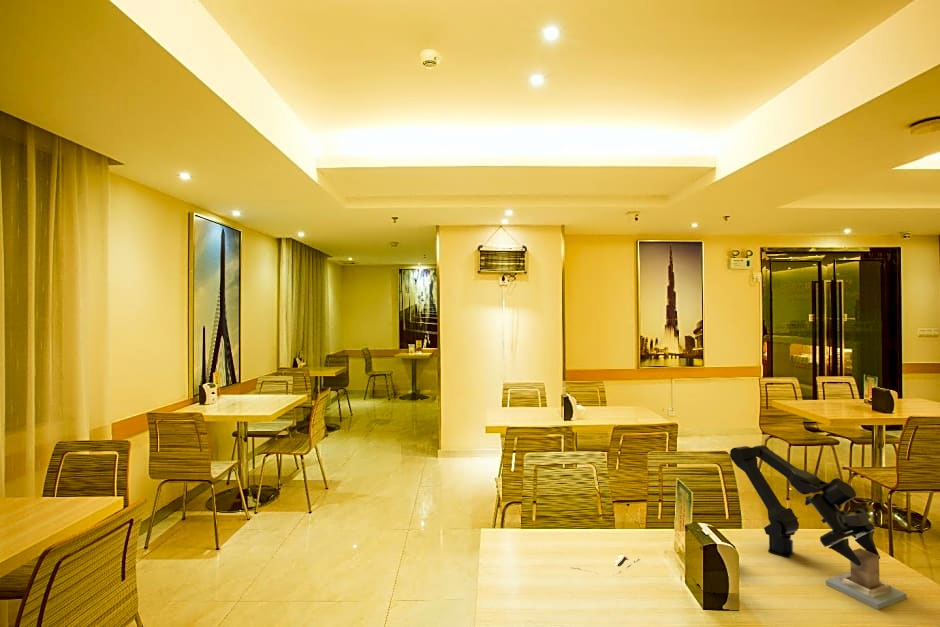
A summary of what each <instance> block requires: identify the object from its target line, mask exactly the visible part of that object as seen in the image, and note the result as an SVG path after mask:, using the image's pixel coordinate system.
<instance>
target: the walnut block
mask: <svg viewBox="0 0 940 627" xmlns="http://www.w3.org/2000/svg"><path fill="white" fill-rule="evenodd" d="M852 551H853V552H854V553H855V555H856V556H857V558H858V559H859V561H860V563H861V565H860V566H858V565H856V564H855V563H853V562H852V561H850V560H849V561H850V562H849V564H850V572H851V581H852V582H854V583H857V584H859V585H861V586H863V587H865V588H867V589H870V590H873V589H875V588H878V587H880V581H881V580H880V559H879V556H880V554H879V555H876V554H874V553H871V552H869V551H866V550H865V549H864V548H857V549H852Z"/></svg>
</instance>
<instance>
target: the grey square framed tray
mask: <svg viewBox="0 0 940 627" xmlns="http://www.w3.org/2000/svg"><path fill="white" fill-rule="evenodd" d="M825 585H826V586H828V587H830V588H832V589H834V590H836V591H838V592H840V593H842V594H844V595H847V596H848V597H850V598H852V597H853V599H854V600H857V601H859V602H861V603H863V604H865V605H867V606H870V607H871V608H873V609H874V610H875V609H876V610H881V609H883V608H885V607H889V606H891V605H893V604H896V603H899V602H901V601H904V600H906V599H907V598H908V597H907V592H904V591H902V590H900V589H897V588H895V587H893V586H892V585H890V584H888V583H886V582H883V581H882V580H880V587H878V588H875V589H873V590H870V589H867V588H865V587H863V586H861V585H859V584H857V583H854V582H852V581H851V571H849V572H845V573H842V574H840V575H836V576H834V577H830V578H827V579H826V580H825Z"/></svg>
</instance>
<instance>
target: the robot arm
mask: <svg viewBox="0 0 940 627" xmlns="http://www.w3.org/2000/svg"><path fill="white" fill-rule="evenodd" d="M729 452H730V453H729V457H730V459H731V461H732V462H733V463H734V465H735V466H736V467H737V468H738V469H740V470H741V471H743V472H744V473H745V474H746V477H747V478H748V480H749V481H750V483H751V484H752V486H753V488H754V489H755V491H756V493H757V494H758V496H759V498H760V500H761V501H762V503H763V505H764V506H765V508H766V510H767V517H768V518H767V519H768V521H769V524H768V525H766V526H765V527H763V530H764V532H765V534H766V535H768V539H769V540H768V542H769V543H768V544H769V546H768V550H767V552H768V553H771V554H774V555H778V556H782V557H785V558H790V557H791V556H792V555H793V553H794V540H792V536H794V535H795V534H796V532H797V531H798V530H799V526H800V524H799V518H798V517H797V516H796V515H795V513H794V511H793V509H792V508H791V507H785V506H783V504H781V502H780V500H779V499H778V497H777V496H776V494H775V493H774V490H773V489H772V488H771V486H770V485H769V483H768V482H767V480H766V478H765V476H764V475H763V473H762V471H761V470H760V468H759V467H758V466H759V465H758V464H759V463H758V458H759V459H760V460H761V461H763V462H764V463H765V464H767V465H768V466H770V467H771V468H773V469H774V471H777V472H778V473H779V474H781V475H782V476H784V477H785V478H786V479H787V480H788V482H789V484H790V486H792V487H793V488H794V490H796V491H797V492H798V493H799V494H801V495H808V496H805V502H804V505H805V506H810V505H812V506H813V507H814V508H815V511H817V512H818V514H819V515H820V516H821V517H822V519H821V522H822V523H823V524H827V525H828V527H829V528H830V529H831V530H830V531H828V532H827V533H825V534H823V535H820V536H819V539H820V540H819V541H820V543H821V544H822V545H823V547H828V549H829V550H833V551H834V552H836V553H838V554H839V555H841V556H843V557H844V558H845V559H847V560H849V561H852V562H853V563H855V564H856V565H858V566H860V565H861V563H860V561H859V559H858V558H857V556H856V555H855V553H854V552H853V549H852V547H851V546H850V544H849V542H850V541H849V538H850V537H852V538H853V539H854V541H855V542H856V543H857V544H858V545H859V546H861V547H862V549H864V550H866V551H869V552H871V553H874V554H876V555H879V560H880V559H881V556H880V554H879V551H878V550H877V547H876V544H875V542H874V538H873V537H874V534H875V530H876V527H875V526H874V525H873V524H872V523H871V522H870V518H871V516H870V514H868V512H867V511H865V509H864V508H858V509H856V510H854V513H850V514H849V513H848V512H847V511H846V510H844V509H842V510H841V509H840V508H839V507H838V506H841V507H842V505H845V504H846V503H847V502H849V501H851V500H853V499H854V498H856V496H857V494H856V491H855V489H854V488H853V487H852V486H851V485H849V483H847V482H845V481H843V480H841V478H839V477H837V478H833V479H832V480H831V481H830V482H827V481H824V480H821V479H820V477H818V476H817V475H815V474H813V473H811V472H809V471H807V470H805V469H800V468H798V467H796V466H794V465H793V464H792V463H791V462H789V461H787V460H786V459H784V458H783V457H782V456H780V455H778V454H777V453H776V452H774V451H773V450H771V449H770V448H769V447H768V446H766V445H764V444H761V445H755V446H753V447H751V446H747V445H743V446H738V447H737V446H736V447H733V448H731V449H730V450H729ZM821 492H822V493H821ZM810 494H813V495H810Z"/></svg>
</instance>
